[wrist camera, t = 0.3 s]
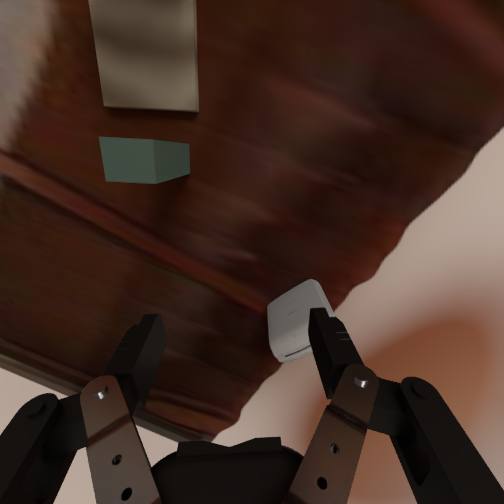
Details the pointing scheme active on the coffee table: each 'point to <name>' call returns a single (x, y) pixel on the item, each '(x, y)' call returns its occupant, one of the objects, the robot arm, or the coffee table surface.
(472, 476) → the robot arm
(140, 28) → the desktop book rack
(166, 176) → the tall sage green prism
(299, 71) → the coffee table surface
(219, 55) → the coffee table surface
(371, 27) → the coffee table surface
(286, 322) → the photo printer
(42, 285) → the coffee table surface
